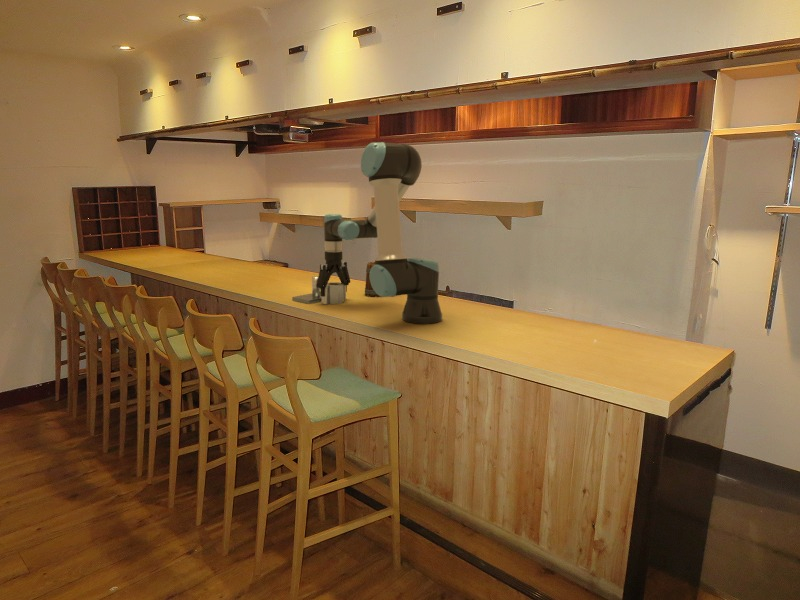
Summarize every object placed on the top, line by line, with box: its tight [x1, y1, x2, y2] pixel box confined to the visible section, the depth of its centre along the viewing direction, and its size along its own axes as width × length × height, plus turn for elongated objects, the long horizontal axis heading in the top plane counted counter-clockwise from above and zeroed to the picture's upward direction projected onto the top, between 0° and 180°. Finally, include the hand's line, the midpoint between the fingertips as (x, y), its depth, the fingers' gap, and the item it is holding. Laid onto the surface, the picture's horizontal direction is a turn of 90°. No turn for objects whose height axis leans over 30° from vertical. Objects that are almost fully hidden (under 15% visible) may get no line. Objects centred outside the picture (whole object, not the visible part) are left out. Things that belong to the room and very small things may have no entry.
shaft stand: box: [291, 275, 322, 305], centre depth 236 cm, size 11×18×10 cm, turn 141°
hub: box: [325, 281, 345, 305], centre depth 230 cm, size 8×8×8 cm
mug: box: [364, 261, 382, 298], centre depth 245 cm, size 16×11×15 cm
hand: (334, 301), depth 231 cm, fingers open, 11 cm apart
